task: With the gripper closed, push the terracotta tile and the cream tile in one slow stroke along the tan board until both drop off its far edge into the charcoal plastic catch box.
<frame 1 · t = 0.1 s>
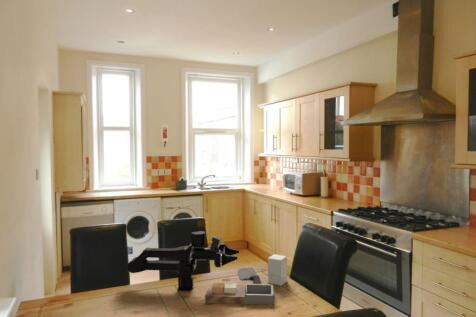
hand: (238, 254, 169), 17 cm above the table, tool horizontal, fingers open, 9 cm apart
supplement box: (277, 282, 178), on the table
tan board: (226, 297, 161), on the table
terracotta tile: (218, 290, 161), point 3 cm above the table, touching tan board
catch box: (259, 298, 160), on the table
cream tile: (230, 290, 161), point 3 cm above the table, touching tan board
cleaver: (249, 279, 183), on the table
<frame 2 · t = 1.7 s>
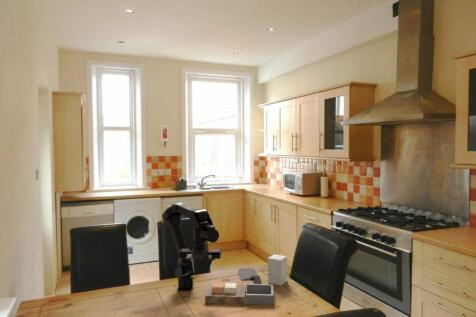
hand: (200, 272, 161), 11 cm above the table, tool pointing down, fingers open, 6 cm apart
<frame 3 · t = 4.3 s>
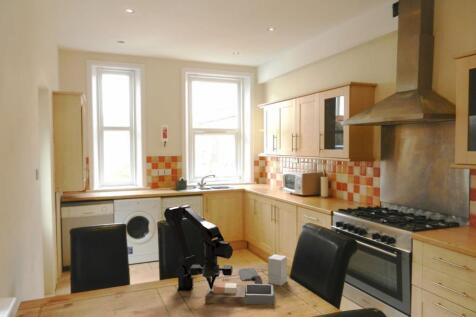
hand: (211, 288, 161), 4 cm above the table, tool pointing down, fingers closed
terracotta tile: (219, 290, 161), point 3 cm above the table, touching cream tile, gripper
cream tile: (230, 290, 161), point 3 cm above the table, touching terracotta tile, tan board
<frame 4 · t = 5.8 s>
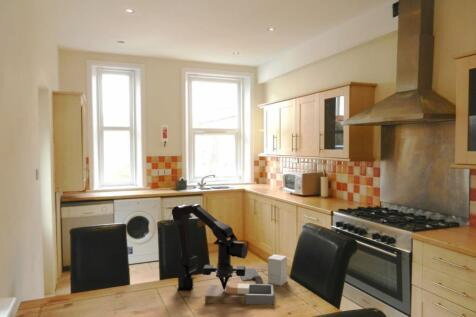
hand: (224, 289, 161), 4 cm above the table, tool pointing down, fingers closed
terracotta tile: (232, 290, 161), point 3 cm above the table, touching cream tile, gripper, tan board
cream tile: (243, 291, 160), point 3 cm above the table, touching terracotta tile, tan board
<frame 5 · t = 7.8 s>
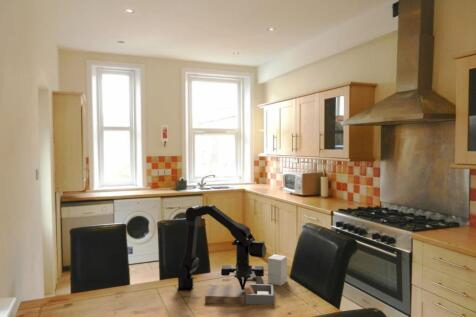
hand: (242, 289, 160), 4 cm above the table, tool pointing down, fingers closed
terracotta tile: (247, 293, 160), point 2 cm above the table, tilted 60°, touching gripper
cream tile: (262, 293, 160), point 2 cm above the table, tilted 180°
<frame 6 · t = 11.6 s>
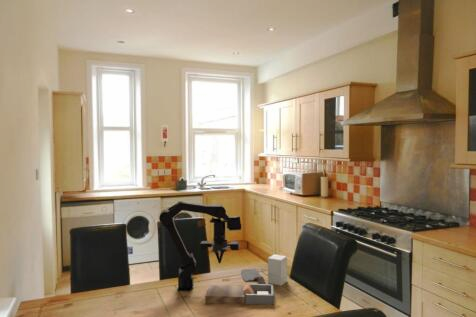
hand: (219, 263, 174), 11 cm above the table, tool pointing down, fingers closed
terracotta tile: (246, 293, 160), point 2 cm above the table, tilted 57°
at the end: terracotta tile inside the target area (5.9 cm from its centre), point 2.0 cm above the table; cream tile inside the target area (1.4 cm from its centre), point 2.2 cm above the table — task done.
